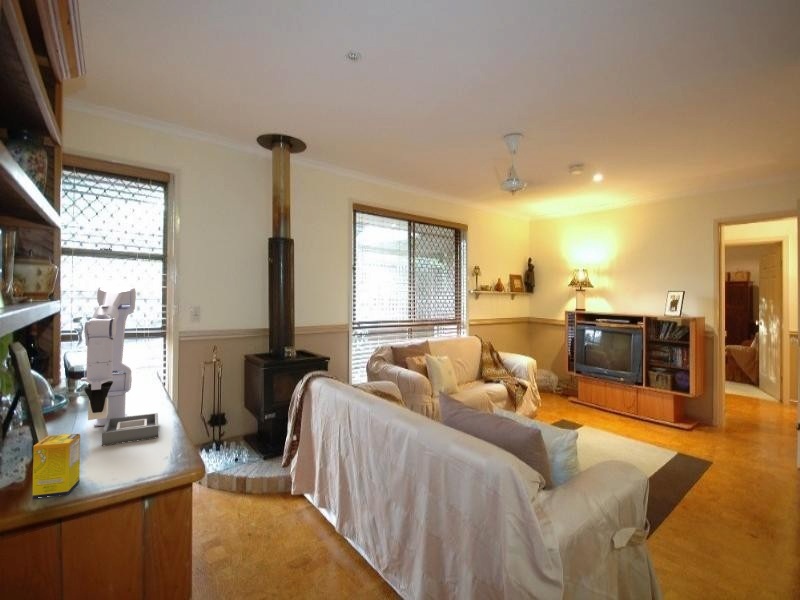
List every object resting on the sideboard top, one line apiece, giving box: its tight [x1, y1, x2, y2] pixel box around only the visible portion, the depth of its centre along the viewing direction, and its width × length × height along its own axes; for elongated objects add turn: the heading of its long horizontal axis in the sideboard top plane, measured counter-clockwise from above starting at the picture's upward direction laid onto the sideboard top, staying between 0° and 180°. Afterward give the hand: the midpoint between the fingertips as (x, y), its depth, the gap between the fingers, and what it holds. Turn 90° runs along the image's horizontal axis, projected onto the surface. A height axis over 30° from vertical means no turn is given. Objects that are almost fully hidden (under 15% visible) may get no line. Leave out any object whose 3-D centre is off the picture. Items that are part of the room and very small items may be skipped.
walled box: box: [101, 412, 160, 447], centre depth 115 cm, size 14×13×4 cm
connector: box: [87, 397, 108, 421], centre depth 108 cm, size 4×4×7 cm
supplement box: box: [32, 432, 81, 499], centre depth 81 cm, size 6×6×11 cm
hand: (98, 410), depth 108 cm, fingers closed on connector, 4 cm apart
